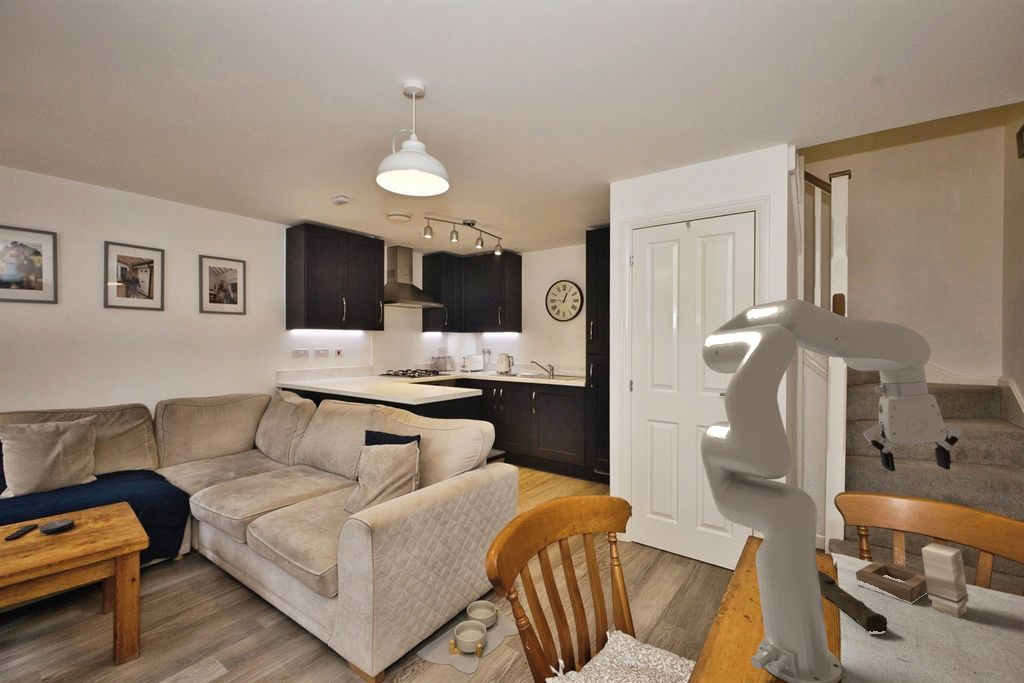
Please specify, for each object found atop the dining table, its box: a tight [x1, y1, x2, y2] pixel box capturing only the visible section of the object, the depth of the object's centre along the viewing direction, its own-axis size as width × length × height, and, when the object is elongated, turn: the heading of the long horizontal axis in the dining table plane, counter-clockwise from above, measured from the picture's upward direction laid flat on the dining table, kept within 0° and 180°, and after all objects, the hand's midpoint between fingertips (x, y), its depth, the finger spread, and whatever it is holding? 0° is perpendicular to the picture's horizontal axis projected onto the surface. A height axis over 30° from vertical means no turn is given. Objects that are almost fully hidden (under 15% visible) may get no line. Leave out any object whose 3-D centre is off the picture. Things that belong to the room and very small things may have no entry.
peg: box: [921, 542, 969, 619], centre depth 91 cm, size 5×5×12 cm
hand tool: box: [818, 569, 888, 632], centre depth 95 cm, size 19×4×5 cm, turn 176°
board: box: [855, 559, 928, 603], centre depth 100 cm, size 10×10×3 cm
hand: (916, 468), depth 98 cm, fingers open, 9 cm apart
